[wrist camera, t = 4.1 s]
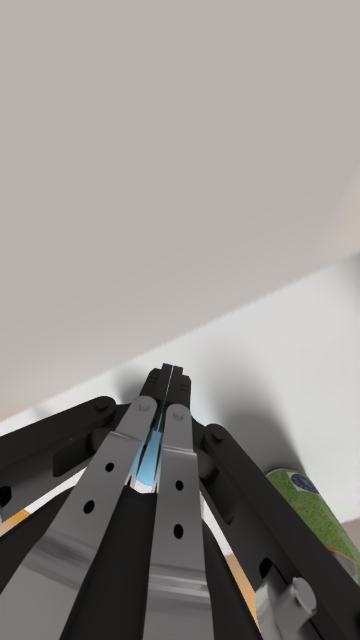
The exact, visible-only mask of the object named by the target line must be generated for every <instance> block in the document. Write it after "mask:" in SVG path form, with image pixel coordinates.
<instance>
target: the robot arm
mask: <svg viewBox="0 0 360 640" xmlns="http://www.w3.org/2000/svg"><path fill="white" fill-rule="evenodd" d="M172 367H173V371H172ZM171 372H172V375H171ZM182 372H183V368H182V367H178V366H173V365H170V364H166V363H163V366H162V369H157V368H154V369H153V370H152V371H150V373H149V375H148V377H147V380H146V382H145V384H144V386H143V388H142V390H141V393H140V395H139V397H137V398H135V399H134V400H133V402H132V403H129V404H121V405H116V402H115V400H114V399H113V398H111V397H108V396H100V397H97V398H94V399H92V400H89V401H87V402H84V403H82V404H79V405H77V406H75V407H72V408H70V409H67V410H65V411H62V412H60V413H57V414H55V415H52V416H50V417H47V418H45V419H42V420H40V421H38V422H35V423H33V424H30V425H28V426H25V427H23V428H20V429H18V430H15V431H13V432H10V433H8V434H5V435H3V436H0V525H1V523H3V522H4V521H6V520H7V519H9V518H10V517H12V516H13V515H15V514H16V513H18V512H19V511H21V510H22V509H24V508H25V507H27V506H28V505H30V504H31V503H33V502H34V501H36V500H37V499H39V498H40V497H42V496H43V495H45V494H46V493H48V492H49V491H51V490H52V489H54V488H55V487H57V486H58V485H60V484H61V483H63V482H64V481H66V480H67V479H69V478H70V477H72V476H73V475H75V474H76V473H78V472H79V471H81V470H82V469H84V468H85V467H87V468H86V470H85V471H84V473H83V474H82V476H81V478H80V479H79V481H78V482H77V484H76V485H75V486H73V487H71V488H69V489H66V490H65V491H63V492H61V493H60V494H58V495H57V496H55V497H54V498H52V499H51V500H50V501H48V502H47V503H46V504H44V505H43V506H42V507H40V508H39V509H37V510H36V511H35V512H33V513H32V514H31V515H29V516H28V517H27V518H25V519H24V520H23V521H21V522H20V523H18V524H17V525H16V526H14V527H13V528H12V529H10V530H9V531H8V532H6V533H5V534H4V535H2V536H1V537H0V640H360V587H359V585H358V584H357V583H356V582H355V581H354V580H353V578H352V577H351V576H350V575H349V574H348V572H347V571H346V570H345V569H344V568H343V567H342V565H341V564H340V563H339V562H338V561H337V560H336V558H335V557H334V556H333V555H332V554H331V553H330V551H329V550H328V549H327V548H326V547H325V545H324V544H323V543H322V542H321V541H320V540H319V538H318V537H317V536H316V535H315V534H314V533H313V531H312V530H311V529H310V528H309V527H308V525H307V524H306V523H305V522H304V521H303V520H302V518H301V517H300V516H299V515H298V514H297V513H296V511H295V510H294V509H293V508H292V507H291V506H290V504H289V503H288V502H287V501H286V500H285V498H284V497H283V496H282V495H281V494H280V493H279V491H278V490H277V489H276V488H275V487H274V486H273V484H272V483H271V482H270V481H269V480H268V478H267V477H266V476H265V475H264V474H263V473H262V471H261V470H260V469H259V468H258V467H257V466H256V464H255V463H254V462H253V461H252V460H251V459H250V457H249V456H248V455H247V454H246V453H245V451H244V450H243V449H242V448H241V447H240V446H239V444H238V443H237V442H236V441H235V440H234V439H233V437H232V436H231V435H230V434H229V433H228V431H227V430H226V429H225V428H223V427H222V426H220V425H218V424H209V425H207V426H206V427H205V426H203V425H202V424H200V423H198V422H197V421H196V420H195V419H194V418H193V417H192V415H191V412H190V396H191V380H190V378H189V376H186V375H182ZM170 376H171V379H170ZM169 380H170V383H169ZM168 385H169V387H168ZM167 389H168V391H167ZM166 393H167V395H166ZM165 397H166V399H165ZM164 401H165V404H164ZM163 405H164V408H163ZM162 409H163V412H162ZM161 413H162V417H161ZM160 417H161V421H160ZM159 421H160V426H159V430H158V432H160V433H161V436H160V441H159V445H158V451H157V458H156V464H155V471H154V478H153V485H152V491H151V493H139V492H137V491H136V490H134V486H135V483H136V480H137V477H138V474H139V471H140V468H141V466H142V463H143V460H144V457H145V454H146V452H147V449H148V446H149V442H150V440H151V438H152V435H153V431H156V432H157V429H158V425H159ZM200 491H201V493H202V495H203V497H204V499H205V501H206V503H207V504H208V506H209V508H210V510H211V512H212V514H213V516H214V517H215V519H216V521H217V523H218V525H219V527H220V529H221V530H222V532H223V534H224V536H225V538H226V540H227V542H228V543H229V545H230V547H231V549H232V551H233V553H234V554H235V556H236V558H237V560H238V562H239V564H240V565H241V567H242V569H243V571H244V573H245V574H246V577H247V578H248V580H249V582H250V584H251V586H252V588H253V589H254V591H255V593H256V596H255V607H256V614H257V620H258V624H259V628H260V631H261V633H260V631H259V629H258V627H257V625H256V623H255V620H254V618H253V616H252V614H251V612H250V610H249V608H248V606H247V604H246V602H245V599H244V597H243V595H242V593H241V591H240V589H239V587H238V585H237V583H236V581H235V578H234V576H233V574H232V572H231V570H230V568H229V566H228V564H227V562H226V559H225V557H224V555H223V553H222V551H221V549H220V547H219V545H218V543H217V541H216V539H215V537H214V535H213V533H212V532H211V530H210V528H209V527H208V525H207V524H206V523H205V521H204V520H203V519H202V518H201V504H200ZM261 634H262V635H261Z"/></svg>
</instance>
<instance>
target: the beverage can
mask: <svg viewBox="0 0 360 640" xmlns="http://www.w3.org/2000/svg"><path fill="white" fill-rule="evenodd" d="M266 477H267V478H268V480H269V481H270V482H271V483H272V484H273V486H274V487H275V488H276V489H277V490H278V491H279V493H280V494H281V495H282V496H283V497H284V498H285V500H286V501H287V502H288V503H289V504H290V506H291V507H292V508H293V509H294V510H295V511H296V513H297V514H298V515H299V516H300V517H301V518H302V520H303V521H304V522H305V523H306V524H307V525H308V527H309V528H310V529H311V530H312V531H313V533H314V534H315V535H316V536H317V537H318V538H319V540H320V541H321V542H322V543H323V544H324V545H325V547H326V548H327V549H328V550H329V551H330V553H331V554H332V555H333V556H334V557H335V558H336V560H337V561H338V562H339V563H340V564H341V565H342V567H343V568H344V569H345V570H346V571H347V572H348V574H349V575H350V576H351V577H352V578H353V580H354V581H355V582H356V583H357V584H358V585H359V587H360V553H359V551H358V550H357V548H356V547H355V545H354V544H353V542H352V541H351V539H350V538H349V536H348V535H347V533H346V532H345V530H344V529H343V528H342V526H341V524H340V523H339V521H338V520H337V518H336V517H335V516H334V514H333V513H332V511H331V510H330V508H329V507H328V505H327V504H326V502H325V501H324V499H323V498H322V496H321V495H320V493H319V492H318V490H317V489H316V487H315V486H314V484H313V483H312V481H311V480H310V479H309V478H308V477H307V476H306V475H305V474H303V473H301V472H299V471H296V470H290V469H285V468H280V469H276V470H273V471H271V472H269V473H268V474H267V475H266Z"/></svg>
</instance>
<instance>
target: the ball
mask: <svg viewBox="0 0 360 640" xmlns="http://www.w3.org/2000/svg"><path fill="white" fill-rule="evenodd" d="M161 417H162V414H161ZM161 417H160V421H161ZM160 421H159V425H158V429H157V432H156V431H153V435H152V438H151V440H150V442H149V446H148V449H147V452H146V454H145V457H144V460H143V463H142V466H141V468H140V471H139V474H138V477H137V480H138V481H140V482H141V483H143V484H145V485H147V486H152V485H153V478H154V471H155V464H156V458H157V451H158V445H159V441H160V436H161V433H160V432H158V430H159V426H160Z"/></svg>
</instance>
